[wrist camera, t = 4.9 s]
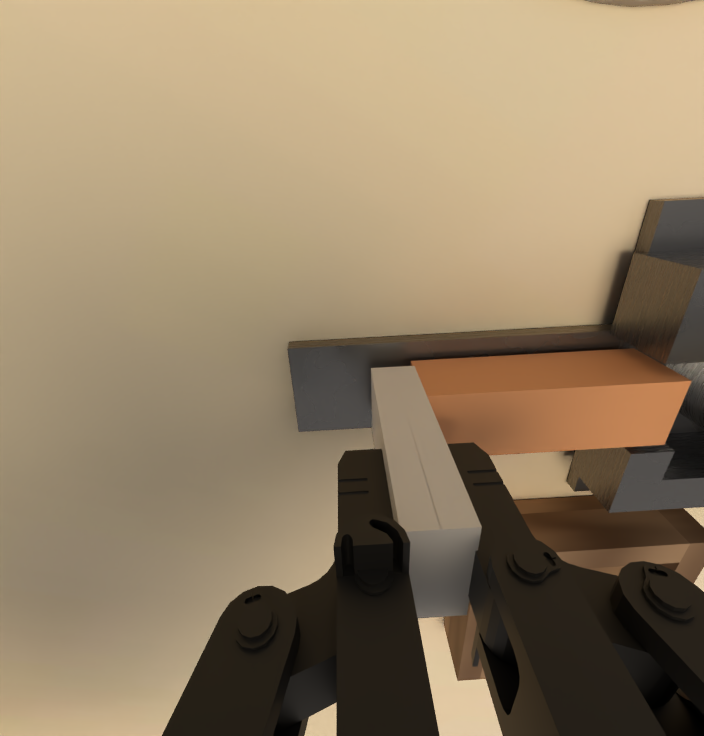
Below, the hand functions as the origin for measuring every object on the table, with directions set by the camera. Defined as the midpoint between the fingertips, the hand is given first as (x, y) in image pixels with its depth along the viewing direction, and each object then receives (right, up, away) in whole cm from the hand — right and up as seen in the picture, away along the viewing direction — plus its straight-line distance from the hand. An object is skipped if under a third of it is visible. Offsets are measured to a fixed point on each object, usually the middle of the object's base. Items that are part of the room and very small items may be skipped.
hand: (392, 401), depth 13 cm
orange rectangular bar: (+5, +1, +1) cm, 5 cm away
